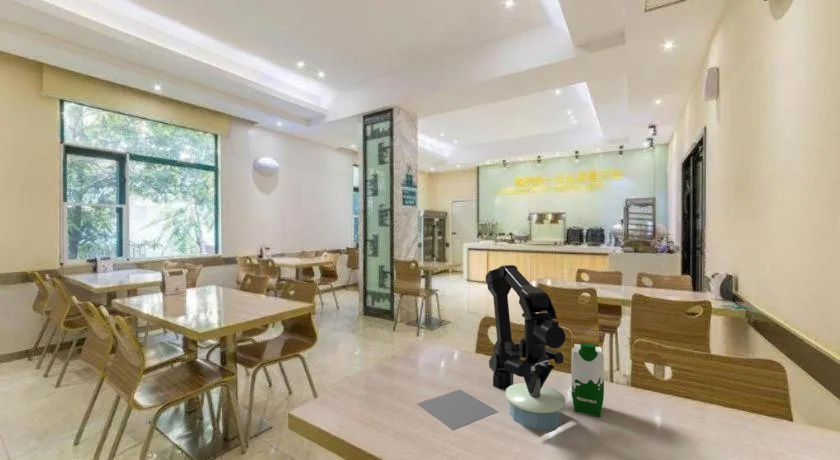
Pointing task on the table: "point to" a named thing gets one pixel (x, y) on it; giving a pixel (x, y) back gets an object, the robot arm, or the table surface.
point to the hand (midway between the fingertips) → (534, 391)
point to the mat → (457, 409)
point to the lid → (535, 398)
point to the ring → (535, 419)
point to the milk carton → (587, 379)
